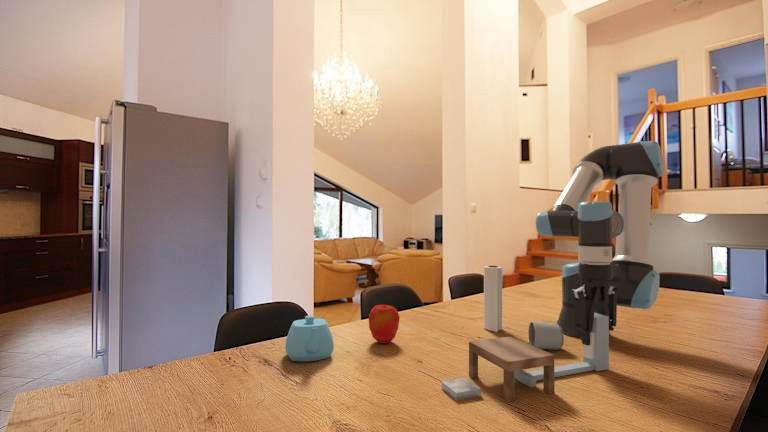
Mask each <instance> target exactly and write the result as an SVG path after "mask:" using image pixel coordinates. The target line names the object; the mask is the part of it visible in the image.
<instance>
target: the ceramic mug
mask: <svg viewBox="0 0 768 432" xmlns="http://www.w3.org/2000/svg"><path fill="white" fill-rule="evenodd" d="M564 335H565V334H563V331H562V328H561V327H560V326H559V325H557V323H553V322H552V323H551V322H542V321H535V320H532V321H530V322H529V325H528V341H529V343H528V344H529V345H532V346H534V347H536V348H539V349H541V350H549V351H550V350H551V351H556V350H557V351H558V350H561V349H562V348H563V346H564V339H565V338H564V337H565V336H564Z"/></svg>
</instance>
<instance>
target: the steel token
mask: <svg viewBox="0 0 768 432" xmlns="http://www.w3.org/2000/svg"><path fill="white" fill-rule="evenodd" d="M441 389H442V391H444V392H445V393H446V394H447V395H449V397H451V398H452V399H453V400H455V401H456V402H459V401H464V400H468V399H470V400H471V399H475V398H481V397H482V387H480V386H478V385H477V384H476V383H474V382H473V381H471V380H470V379H469V378H467V377H461V378H455V379H449V380H444V381H441Z"/></svg>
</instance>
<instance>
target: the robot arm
mask: <svg viewBox="0 0 768 432" xmlns="http://www.w3.org/2000/svg"><path fill="white" fill-rule="evenodd" d="M665 171H666V170H665V163H664V157H663V152H662V148H661V147H660V144H659V143H658V142H657V141H655V140H647V141H642V140H641V141H636V142H631V143H630V142H629V143H622V144H621V143H620V144H612V145H605V146H602V147H599V148H596V149H594V150H593V151H591V152H589V153H587V154H586V155H585V156H584V157H582V158H581V159H580V160H579V161H578V162H577V164H575V166H574V168H573V170H572V176H571V177H570V179H569V181H568V183H567V185H566V186H565V187H564V189H563V191H561V192H562V193H560V195H559V196H558V198H557V200H556V202H555V203H554V205H553V206H552V208H551V209H550V210H545V211H539V212H538V214H537V215H536V219H535V228H536V231H537V233H538V234H539V235H541V236H544V237H551V238H553V237H555V238H556V237H557V238H559V237H560V238H562V237H563V238H564V237H566V238H567V237H568V238H570V237H571V238H578V241H577V242H578V243H577V244H578V245H577V246H578V247H577V252H578V253H577V256H578V259H577V260H578V261H579V262H575V263H574V262H573V263H567V264H565V265H563V266H562V272H561V273H562V274H561V301H562V303H561V310H560V311H559V316H558V319H557V321H556V324H557V325H559V326H560V327H561V328H562V331H563V335H567V336H571V337H575V338H581V343H582V357H583V356H584V357H587V358H589V359H592V360H594V359H595V342H594V332H592V326H593V319H594V313H598V314H602V315H606V316H609V341H610V334H611V333H610V331H611V332H612V331H613V332H614V330H615V328H616V327H617V317H618V315H617V311H618V309H617V308H618V307H624V308H625V307H626V308H630V309H642V310H648V309H651V308H653V306H654V305H655V303H656V301H657V298H658V295H659V290H660V278H661V276H660V272H659V271H656V270H654V264H652V262H650V261H649V259H648V258H649V241H650V240H649V239H650V226H651V225H650V222H651V206H652V205H651V203H652V202H651V201H652V187H654V186H656V184H658V182H659V181H658V180H659V177H660V178H661V177H663V176H664V175H665ZM605 180H606V181H607V180H614V183H615V184H616V185H617V186H618V187H619V195H618V196H619V199H618V209H617V210H618V211H616V210H615V209H614V210H613V205H612V202H611V201H607V200H606V201H605V200H604V201H602V200H600V201H595V200H594V201H588V199H589V197H590V195H591V194H592V192H593V191H594V189H595V187H596V186H597V185H599V184H600V183H601V182H602V181H605ZM614 238H616V240H615V251H614V252H615V255H614V257H613V239H614ZM617 306H618V307H617ZM586 326H587V327H586Z"/></svg>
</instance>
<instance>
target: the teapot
mask: <svg viewBox="0 0 768 432" xmlns="http://www.w3.org/2000/svg"><path fill="white" fill-rule="evenodd" d="M332 334H333V333H332V331H331V329H330V327H329V324H328V323H327V321H326V320H325V319H323V318H316V316H315V315H313V314H311V315H305V316H304V318H303V319H297V320H293V322H292V324H291V326H290V328H289V330H288V334H287V336H286V340H285V353H286V355H287V356H288V359H290V360H291V361H292V362H314V361H320V360H321V361H322V360H325V359H328V358H330V357H331V356H332V354H333V351H334V340H333V335H332Z"/></svg>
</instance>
